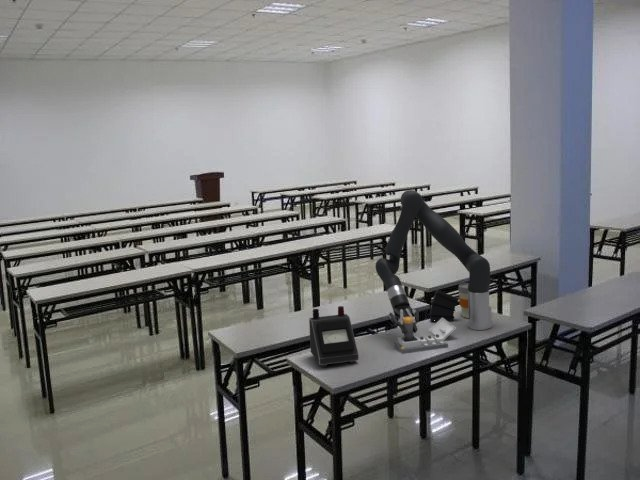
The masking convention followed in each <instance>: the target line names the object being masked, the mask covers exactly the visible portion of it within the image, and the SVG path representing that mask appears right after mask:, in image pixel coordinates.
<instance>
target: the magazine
mask: <svg viewBox="0 0 640 480" xmlns="http://www.w3.org/2000/svg"><path fill="white" fill-rule="evenodd" d="M430 303H431V306H430V312H429V313H428V314H429V320H431V321H434V320H435V321H436V322H435V323H437V322H438V321H439V320H440V319H441V318H444V319H445V320H447V321H448V322H454V319H455V316H454V313H455V312H456V309H455V308H456V306H457V305H458V304H459V297H455V296H453V295H451V294H448V293H446V292H444V291H442V290H439V289H436V290H435V291H434V296H433V298H432V300H431V301H430ZM431 321H430V322H431Z"/></svg>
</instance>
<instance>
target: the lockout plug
mask: <svg viewBox="0 0 640 480" xmlns="http://www.w3.org/2000/svg"><path fill="white" fill-rule="evenodd" d="M413 318H414V316H413V317H409V316H407V317H404V318H403V325H405V328H406V331H407V333H406V335H404V334H403V337H404V341H405V342H410V341H414V335H415V333H414V332H413Z"/></svg>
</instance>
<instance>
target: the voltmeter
mask: <svg viewBox="0 0 640 480" xmlns="http://www.w3.org/2000/svg"><path fill="white" fill-rule="evenodd" d="M344 307H345V306H342V305H339V306H338V307H337V314H334V315H324V316H323V315H322V316H320V313H319V311H320V309H318V308H313V309H312V317H309V318H308V323H309V343H310V353H311V354H312V357H314V359H315V361H316V362H317V364H318V365H319V366H321V367H322V368H325V367H327V365H330V364H339V363H345V362H349V363H350V364H355V362H356V361H359V360H360V359H359V352H358V351H359V350H358V347H357V342H356V338H355V335H354V330H353V326H352V322H351V318H350V316H349V314H347V313H345V309H344Z"/></svg>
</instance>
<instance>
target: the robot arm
mask: <svg viewBox="0 0 640 480" xmlns="http://www.w3.org/2000/svg"><path fill="white" fill-rule="evenodd" d="M399 199H400V205H401V211H400V214H399V218H398V220H397V222H396V224H395V226H394V227H393V229H392V232H391V234H390V236H389V238H388V240H387V244H386V247H385V253H386V254H387V255H389V258H385V257H384V258H383V257H382V258H379V259H377V260H376V263H375V271H376V273H377V275H378V277H379V278H380V279H381V280H380V281H382V283H383V284H384V286H385V289H386V292H387V296H388V300H389V302H390V305H391V309H392V312H389V314H388V317H387V318H388V319H389V320H390V321H391V322H392V324H393V325H394V326H395V327H396V328H397V327H399V329H400V331H401V333H402V334H403V336H404V335H406V333H407V331H406V328H405V325H404V324H403V318H404V317H407V316H409V317H413V333H414V334H416V333H417V331H418V330H419V329H418V326H417V324H418V323H419V320H420V310H419V308H416V309H413V308H412V307H411V304H410V302H409V298H408V296H407V293H406V291H405V289H404V287H403V284H402V281H401V279H400V277H399V276H398V275H396V274H397V273H398V271H399V269H400V261H401V254H402V251H403V248H404V245H405V242H406V241H407V237H408V235H409V232H410V229H411V227H412V226H413V225H412V224H413V223H414V220H415V219H417V220H419V222H420V223H421V224H422V225H423V226H424V228H425V229H426V230H427V232H428V233H429V234H430V235H431V236H432V237H433V238H434V239H435V240H436V242H438V243H439V244H440V245H441V246H442V247H443V248H445V250H447V251H449V253H451V254H452V255H454V256H455V257H456V258H457V259H458V261H460V263H461V264H462V266H464V268H465V269H466V271H467V272H468V273H469V279H468V280H469V282H468V283H469V284H468V308H469V318H468V328H470V329H471V330H475V331H484V330H485V331H486V330H489V329H491V328H492V327H493V325H492V321H493V320H492V319H493V318H492V307H491V306H490V286H491V266H490V262H489V260H488V259H487V258H485V257H483V255H480V254H479V253H477V252H476V251H475V250H474V249H472V248H471V247H470V245H468V244H467V243H466V242H465V240H464V238H463V237H462V235H460V234H459V232H458V231H457V230H456V228H454V226H453V225H452V224H451V223H450V222H449V221H448V220H446V219H445V218H444V217H442V216H441V215H440V214H438V212H435V210H433V209H432V208H431V207H430V206H429V205H428V204H427V202H426V201H425V200H424V199H423V196H422V195H421V194H420V193H419V192H417V191H416V190H413V189H409V190H406V191H404V192H402V193H401V196H400V198H399ZM412 313H413V315H412Z"/></svg>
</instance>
